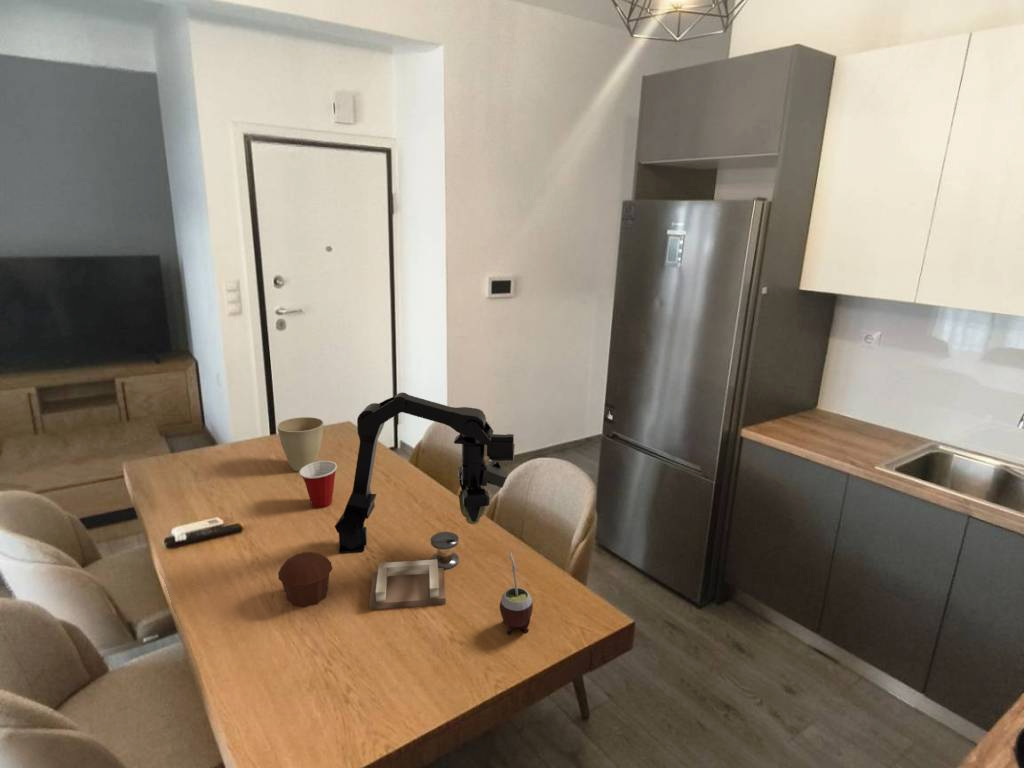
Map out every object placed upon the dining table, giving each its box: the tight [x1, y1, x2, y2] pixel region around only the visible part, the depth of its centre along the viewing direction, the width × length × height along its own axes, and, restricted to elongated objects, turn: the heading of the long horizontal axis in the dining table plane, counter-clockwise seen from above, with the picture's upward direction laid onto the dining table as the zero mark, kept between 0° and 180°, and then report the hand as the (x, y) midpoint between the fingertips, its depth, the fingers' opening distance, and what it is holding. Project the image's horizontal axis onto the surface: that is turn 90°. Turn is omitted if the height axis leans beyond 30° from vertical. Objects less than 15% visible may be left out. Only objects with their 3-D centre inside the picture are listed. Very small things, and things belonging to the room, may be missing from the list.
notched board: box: [368, 559, 447, 611], centre depth 137 cm, size 17×12×4 cm
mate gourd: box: [499, 551, 534, 636], centre depth 125 cm, size 8×8×15 cm
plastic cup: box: [298, 460, 338, 509], centre depth 176 cm, size 11×11×12 cm
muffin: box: [277, 551, 333, 608], centre depth 134 cm, size 12×11×10 cm
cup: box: [458, 489, 487, 525], centre depth 150 cm, size 8×7×8 cm
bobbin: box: [430, 531, 460, 570], centre depth 148 cm, size 7×7×6 cm
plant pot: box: [276, 416, 325, 472], centre depth 200 cm, size 15×15×16 cm
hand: (472, 514), depth 151 cm, fingers closed on cup, 6 cm apart
